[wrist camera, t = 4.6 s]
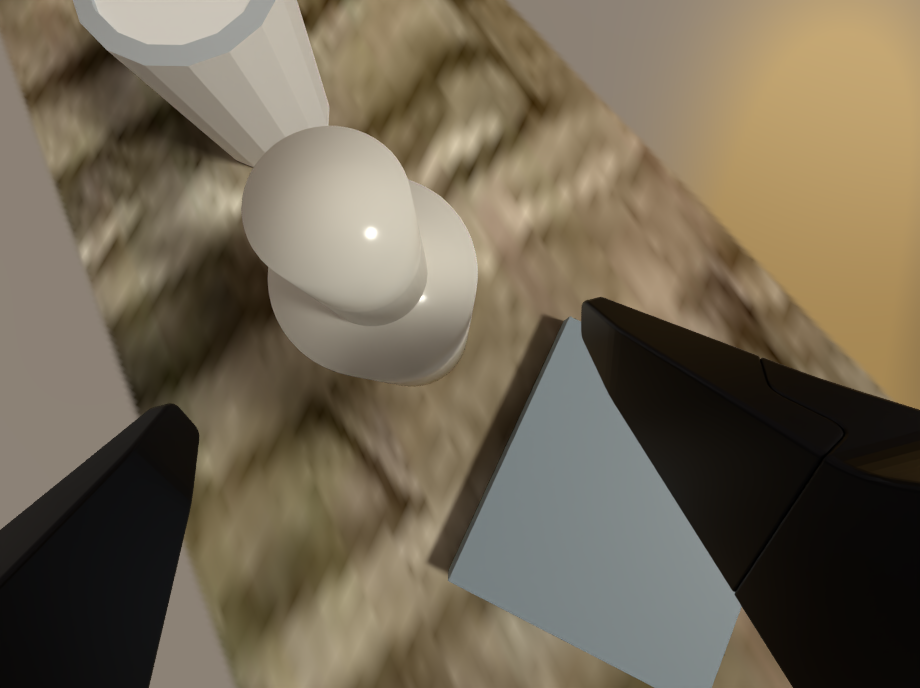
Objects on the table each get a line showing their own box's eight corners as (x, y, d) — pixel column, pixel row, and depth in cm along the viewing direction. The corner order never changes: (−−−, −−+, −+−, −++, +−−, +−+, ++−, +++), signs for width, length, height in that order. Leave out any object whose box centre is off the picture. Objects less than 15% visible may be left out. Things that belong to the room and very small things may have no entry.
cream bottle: (437, 405, 18) (397, 425, 6) (338, 356, 18) (99, 276, 6) (485, 306, 19) (542, 136, 6) (389, 261, 19) (264, 9, 7)
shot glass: (172, 132, 20) (19, -10, 13) (259, 28, 21) (159, -159, 14) (285, 208, 19) (190, 104, 12) (370, 99, 20) (325, -57, 13)
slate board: (687, 693, 17) (702, 712, 16) (448, 570, 17) (448, 580, 16) (788, 427, 18) (807, 429, 17) (563, 320, 19) (569, 316, 18)
